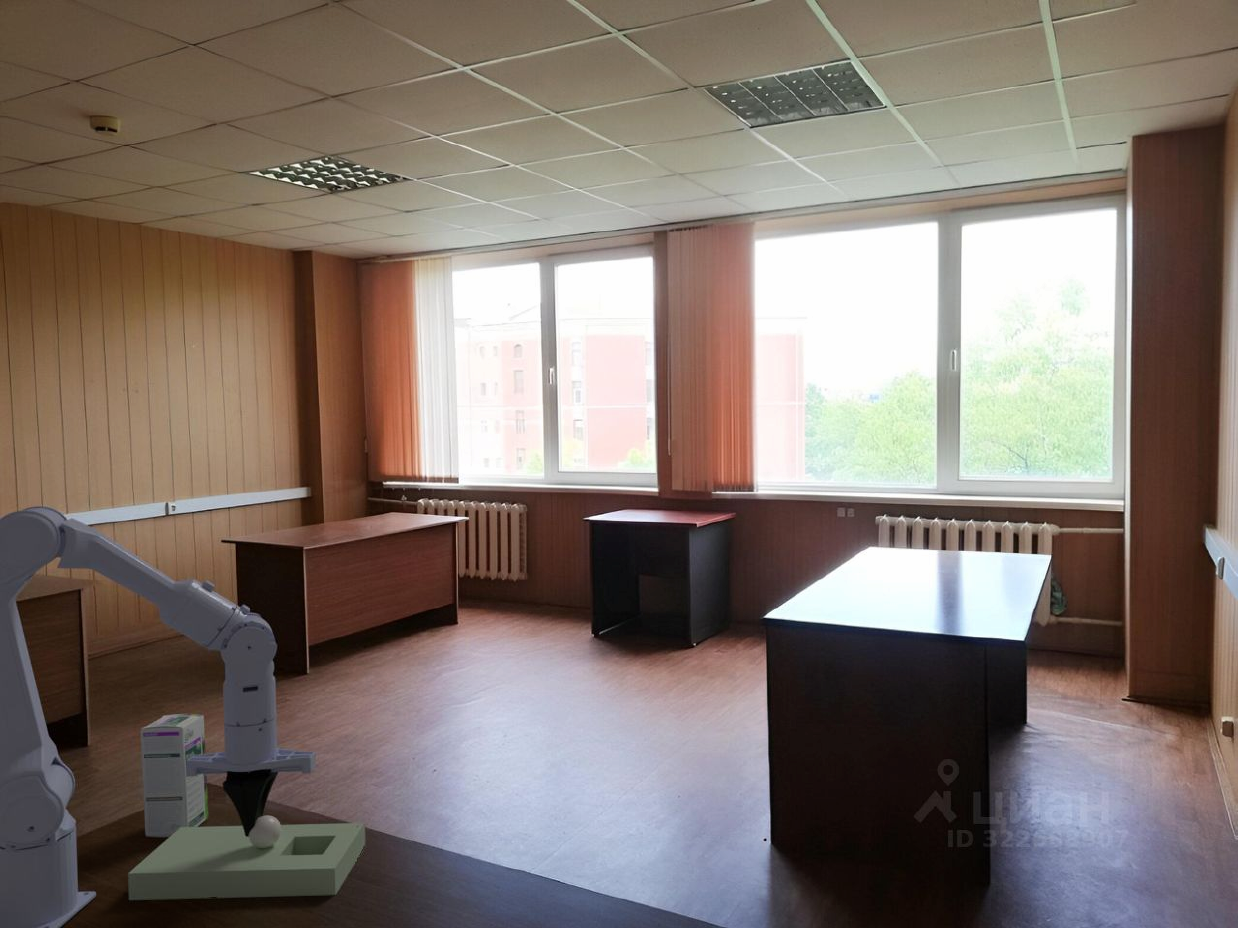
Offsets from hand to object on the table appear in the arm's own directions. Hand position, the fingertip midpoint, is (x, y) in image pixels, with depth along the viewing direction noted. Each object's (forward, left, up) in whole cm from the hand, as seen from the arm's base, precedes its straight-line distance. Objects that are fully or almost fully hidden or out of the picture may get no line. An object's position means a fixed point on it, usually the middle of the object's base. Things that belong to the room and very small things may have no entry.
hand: (253, 832), depth 104 cm
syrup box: (-16, +13, -5) cm, 21 cm away
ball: (+1, 0, 0) cm, 1 cm away
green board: (0, 0, -5) cm, 5 cm away
